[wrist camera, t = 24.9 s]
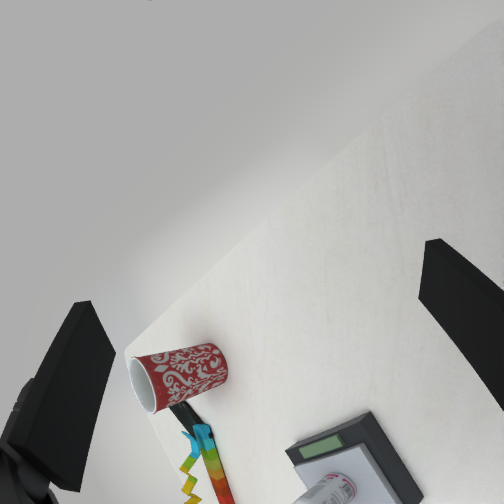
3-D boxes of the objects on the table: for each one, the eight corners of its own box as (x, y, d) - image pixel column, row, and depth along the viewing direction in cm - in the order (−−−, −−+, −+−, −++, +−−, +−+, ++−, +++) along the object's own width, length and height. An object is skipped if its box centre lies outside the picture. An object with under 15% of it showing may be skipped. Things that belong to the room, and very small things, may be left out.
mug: (207, 325, 52) (131, 344, 43) (238, 368, 47) (159, 397, 38) (189, 368, 58) (124, 387, 49) (214, 406, 53) (148, 432, 44)
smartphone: (205, 453, 56) (166, 405, 66) (209, 451, 57) (170, 403, 66) (210, 436, 54) (168, 385, 63) (214, 434, 54) (172, 384, 64)
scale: (296, 442, 39) (279, 454, 37) (370, 410, 31) (354, 426, 28) (343, 513, 33) (328, 527, 31) (424, 496, 25) (411, 515, 22)
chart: (199, 422, 57) (132, 448, 47) (208, 425, 55) (139, 454, 45) (235, 525, 55) (183, 554, 44) (244, 530, 52) (191, 561, 42)
